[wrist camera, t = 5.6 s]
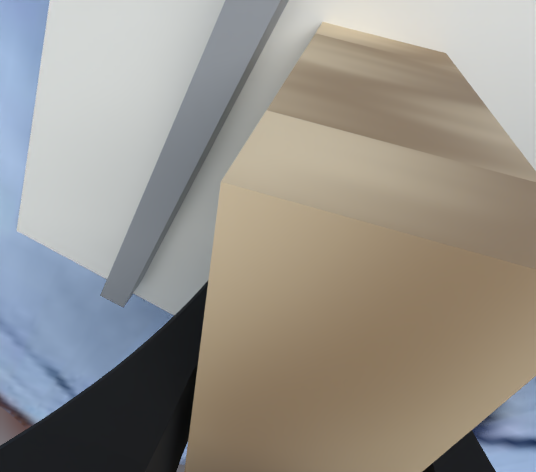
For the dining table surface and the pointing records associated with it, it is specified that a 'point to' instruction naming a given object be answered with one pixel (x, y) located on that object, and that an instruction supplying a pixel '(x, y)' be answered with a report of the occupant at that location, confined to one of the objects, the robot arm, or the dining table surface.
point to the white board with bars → (209, 115)
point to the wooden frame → (365, 269)
